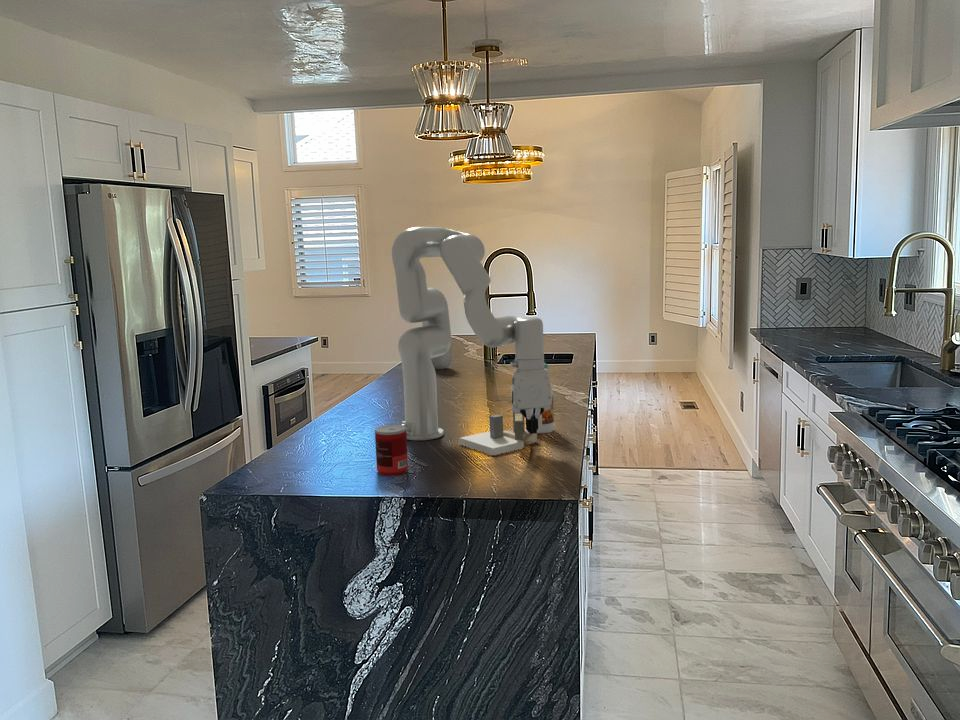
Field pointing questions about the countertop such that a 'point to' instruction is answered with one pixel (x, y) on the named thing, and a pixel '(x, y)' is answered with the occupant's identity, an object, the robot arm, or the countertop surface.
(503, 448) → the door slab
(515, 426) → the bar
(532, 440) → the jamb block
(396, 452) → the canned food
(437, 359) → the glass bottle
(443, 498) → the countertop surface
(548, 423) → the milk bottle
